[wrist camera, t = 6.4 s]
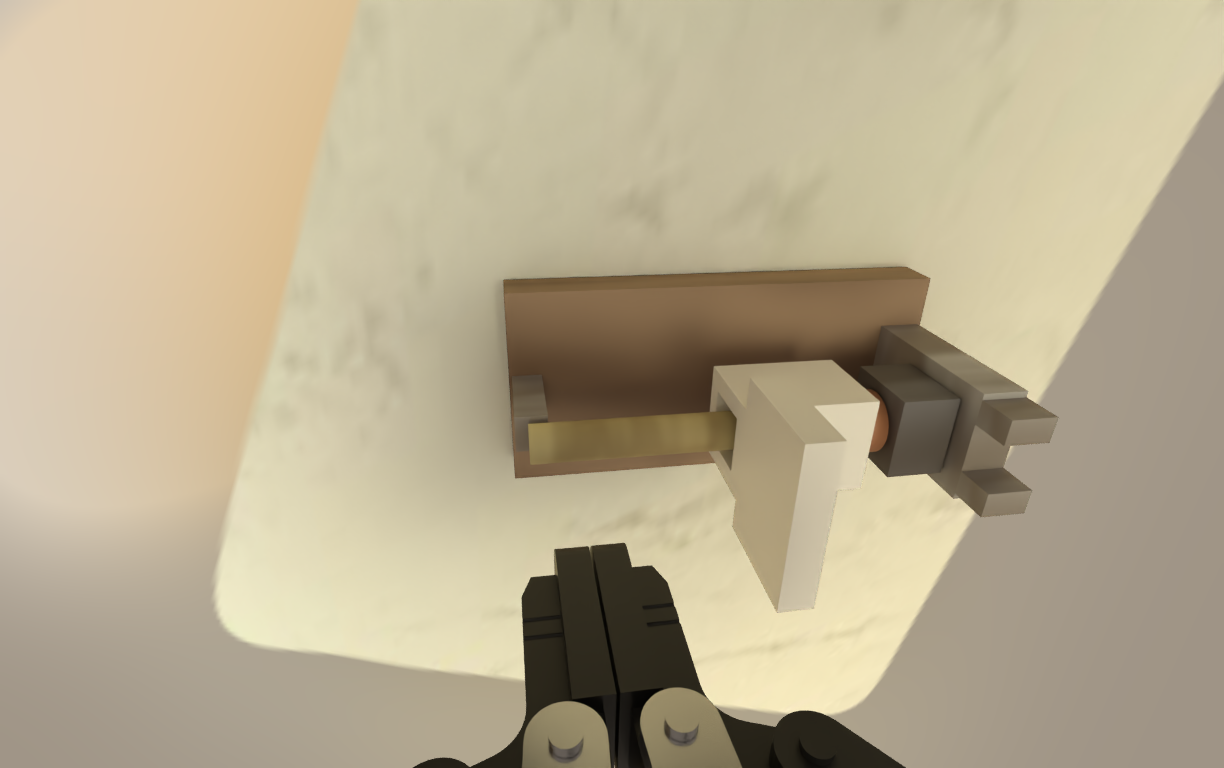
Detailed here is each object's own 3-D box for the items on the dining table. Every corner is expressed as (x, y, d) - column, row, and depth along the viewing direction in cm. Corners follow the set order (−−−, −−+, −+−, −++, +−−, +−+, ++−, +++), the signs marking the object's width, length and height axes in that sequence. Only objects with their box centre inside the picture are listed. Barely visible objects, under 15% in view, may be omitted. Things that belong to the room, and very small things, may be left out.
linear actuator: (503, 279, 22) (506, 385, 14) (906, 267, 24) (1084, 352, 17) (514, 456, 25) (521, 616, 18) (870, 430, 27) (1008, 563, 20)
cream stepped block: (716, 336, 20) (805, 444, 14) (836, 331, 21) (968, 432, 15) (704, 472, 22) (776, 612, 16) (813, 463, 23) (920, 596, 17)
